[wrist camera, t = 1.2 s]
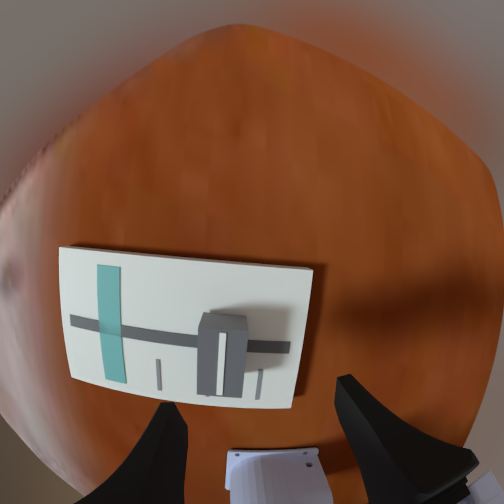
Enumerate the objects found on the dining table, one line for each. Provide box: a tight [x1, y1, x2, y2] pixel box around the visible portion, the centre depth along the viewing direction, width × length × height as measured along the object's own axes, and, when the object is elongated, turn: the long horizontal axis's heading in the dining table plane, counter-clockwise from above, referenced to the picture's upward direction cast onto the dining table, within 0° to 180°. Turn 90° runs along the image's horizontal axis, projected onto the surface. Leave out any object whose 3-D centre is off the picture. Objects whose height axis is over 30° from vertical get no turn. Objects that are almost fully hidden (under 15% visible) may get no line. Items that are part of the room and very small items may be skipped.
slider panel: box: [59, 246, 313, 408], centre depth 20 cm, size 20×12×2 cm, turn 85°
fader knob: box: [197, 312, 248, 398], centre depth 17 cm, size 3×5×3 cm, turn 175°
